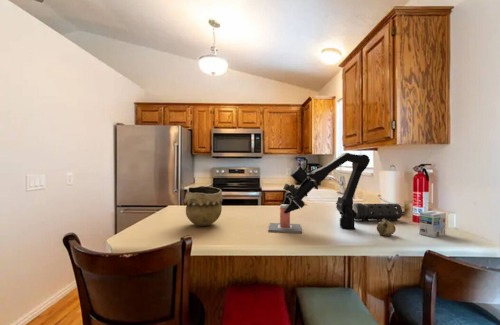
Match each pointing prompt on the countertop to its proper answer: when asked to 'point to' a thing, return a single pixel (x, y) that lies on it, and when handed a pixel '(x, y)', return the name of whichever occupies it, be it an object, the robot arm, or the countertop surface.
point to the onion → (385, 228)
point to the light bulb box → (432, 223)
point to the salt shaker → (284, 216)
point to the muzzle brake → (377, 211)
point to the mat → (292, 229)
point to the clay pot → (203, 204)
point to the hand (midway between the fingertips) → (282, 211)
